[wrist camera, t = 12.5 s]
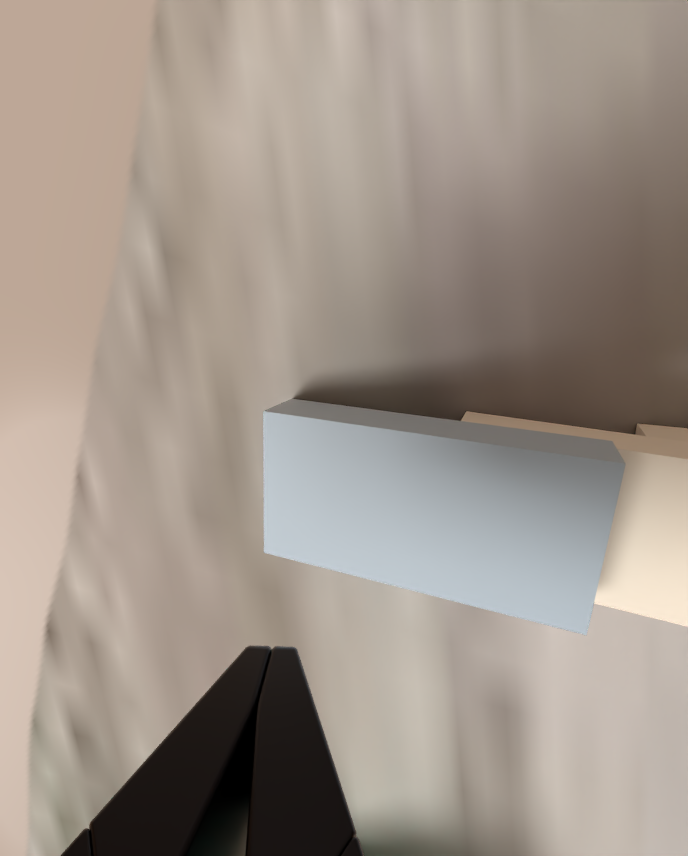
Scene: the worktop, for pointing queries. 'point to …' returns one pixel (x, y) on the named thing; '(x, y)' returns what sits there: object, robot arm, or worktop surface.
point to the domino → (443, 506)
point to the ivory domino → (638, 521)
